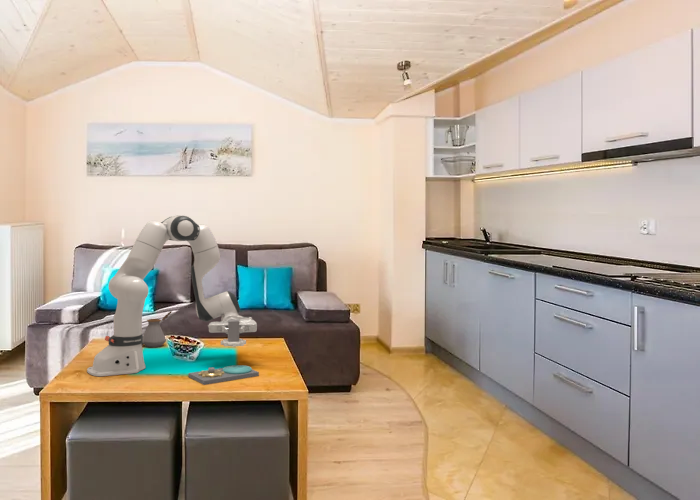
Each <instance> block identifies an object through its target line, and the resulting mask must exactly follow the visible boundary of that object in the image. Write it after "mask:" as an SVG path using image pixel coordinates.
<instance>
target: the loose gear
mask: <svg viewBox="0 0 700 500" xmlns="http://www.w3.org/2000/svg"><path fill="white" fill-rule="evenodd" d="M245 345H247V340H246V339H244V338H240V333H239V320H228V334H227V338H223V339H222V340H220V346H223V347H232V348H236V347H244V346H245Z"/></svg>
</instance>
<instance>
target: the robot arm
mask: <svg viewBox="0 0 700 500" xmlns="http://www.w3.org/2000/svg"><path fill="white" fill-rule="evenodd" d="M214 235H215V234H213V232H212V230H211V228H210V226H208V225H207V224H198V223H197V222H195V221H194V219H192V218H191V217H189V216H187V215H173V216H169V217H167V218H166V219H164V220H162V222H161V221H158V220H150V221H148V222H147V223H146V224H145V225H144V226H143V227H142V229H141V230H140V232H139V234H138V235H137V238H136V239H135V242H134V243H133V246H132V247H131V249H130V252H129V253H128V255H127V257H126V259H125V261H124V262H123V264H121V266H120V267H119V269H118V270H117V272H116V273H115V274H114V276H113V277H111V278H110V280H109V282H108V290H109V293H110V294H111V295H112V297H114V298H115V299H117V302H116V303H117V304H116V309H115V313H114V315H113V334H112V335H111V336H108V335H106V336H105V337H104V341H106V342H108V345H107V346H105V347H104V348H103V349H101V350H100V351H99V352H98V353H97V354H96V355H95V356H94V358H93V361H92V362H93V363H92V366H89V367H88V368H87V369H86V372H87V373H88V374H89V375H91V376H94V377H106V376H108V377H109V376H117V375H129V374H137V373H139V372H140V371H144V369H146V364H145V360H144V353H143V347H144V344H143V336H144V333H143V331H142V330H143V329H142V327H143V312H144V308H145V303H146V299H147V297H148V295H149V286H148V284H147V282H145V281H144V279H145V278H146V276H147V275H148V274H149V273H150V271H152V270H153V268H155V265H156V263H157V260H158V258H159V256H160V254H161V252H162V250H163V248H164V245H165V244H166V243H167V242H168V241H174V242H187V243H188V244H189V245H190V247H191V251H192V253H193V257H194V259H193V260H194V261H193V264H192V265H191V267H190V273H191V281H192V287H193V294H194V299H195V313H196V315H197V318H198V319H199V320H200V321H202V322H206V323H208V324H207V328H208V333H211V334H213V333H216V334H217V333H225V334H226V335H228V320H239V334H244V333H255V332H257V329H258V324H257V321H255V320H254V319H253V317H251V316H243V315H239V314H240V311H241V307H240V305H239V302H238V299H237V297H236V295H235V293H233V292H231V291H230V290H229V291H227V290H226V291H224V292H221V293H218V294H216V295H213V296H212V295H211V296H210V297H207V298H206V297H205V294H204V288H203V283H202V281H203V278H204V277H205V275H207V274H208V273H209V272H210V271H211V270H213V269H214V268H215V267H216V266H217V265H218V263H219V262H220V259H221V252H220V249H219V245H218V243H217V241H216V238H215V236H214ZM219 317H221V319H220V321H213V320H214V319H217V318H219ZM210 321H211V322H210Z"/></svg>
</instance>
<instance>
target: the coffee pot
mask: <svg viewBox="0 0 700 500" xmlns="http://www.w3.org/2000/svg"><path fill="white" fill-rule="evenodd" d="M170 315H172V316H173V315H174V312H173V311H169V312H167V314H166V315H165V316H163V318H162V319H160V318H149V319H146V321H147V323H148V325H147V327H146V329H145V331H144V333H143V346H145V347H146V348H159V347H162V346H163V345H164V344H165V343H166V342H167V339H165V338H166V336H165V334H164V331H163V330H162V327H161V323H163V322H164V321H165V320H166V319H168V317H169V316H170Z"/></svg>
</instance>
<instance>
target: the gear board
mask: <svg viewBox="0 0 700 500" xmlns="http://www.w3.org/2000/svg"><path fill="white" fill-rule="evenodd" d="M187 374H188V375H187V376H188V378H190V379H191V380H193V381H196V382H198V383H200V384H201V385H203V386H205V385H206V386H207V385H212V384H217V383H224V382H230V381H236V380H241V379H243V380H244V379H247V378H248V379H249V378H254V377H259V375H260V372H259V371H257V370H255V369H253V368H252V367H251V366H249V365H243V364H242V365H241V364H240V365H239V364H236V365H235V364H234V365H228V366H224V367H222V368H221V367H219V368H215V367H214V366H213V367H208V369H206V370H201V371H194V372H193V371H192V372H189V373H187Z"/></svg>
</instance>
